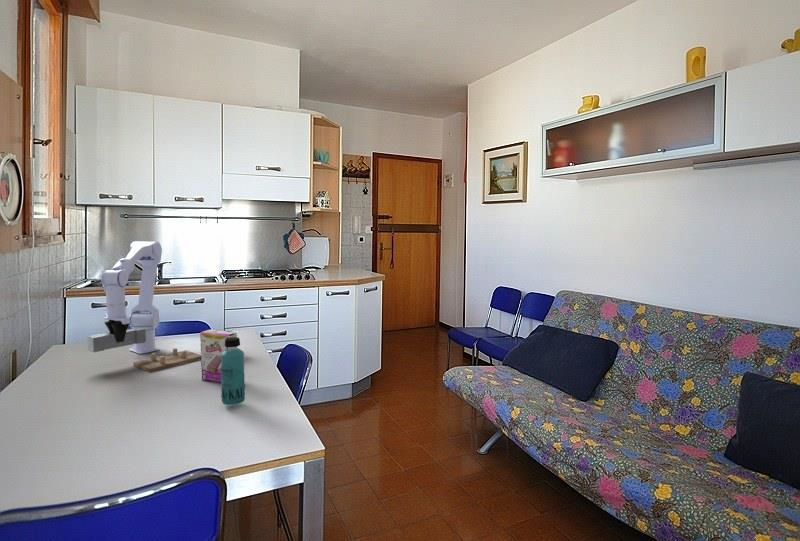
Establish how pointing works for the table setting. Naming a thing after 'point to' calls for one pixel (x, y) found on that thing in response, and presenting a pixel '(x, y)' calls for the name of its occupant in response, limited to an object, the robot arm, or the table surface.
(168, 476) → the table surface
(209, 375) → the candy bar box
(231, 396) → the beverage bottle
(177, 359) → the peg rack
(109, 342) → the gray notched long block
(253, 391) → the table surface
